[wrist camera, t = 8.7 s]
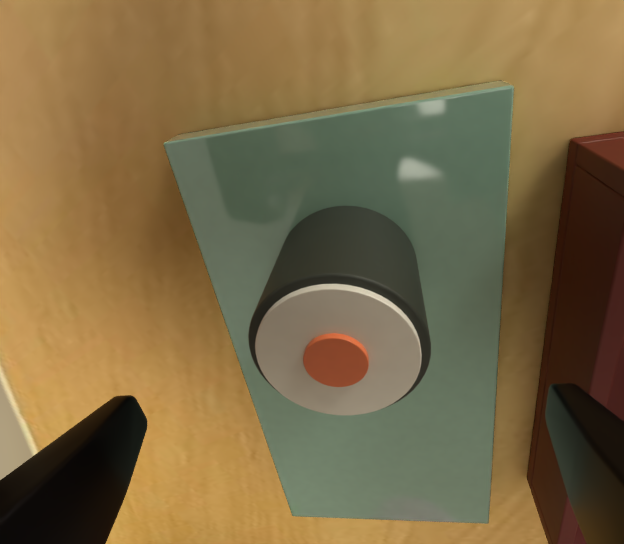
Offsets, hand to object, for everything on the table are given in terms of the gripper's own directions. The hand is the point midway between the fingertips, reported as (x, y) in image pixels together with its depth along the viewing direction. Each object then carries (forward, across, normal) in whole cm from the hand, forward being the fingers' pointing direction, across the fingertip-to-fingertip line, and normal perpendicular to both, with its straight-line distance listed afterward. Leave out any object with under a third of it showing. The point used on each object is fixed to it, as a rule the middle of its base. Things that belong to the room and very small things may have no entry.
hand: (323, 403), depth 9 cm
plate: (+7, 0, +5) cm, 9 cm away
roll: (+6, 0, 0) cm, 6 cm away
